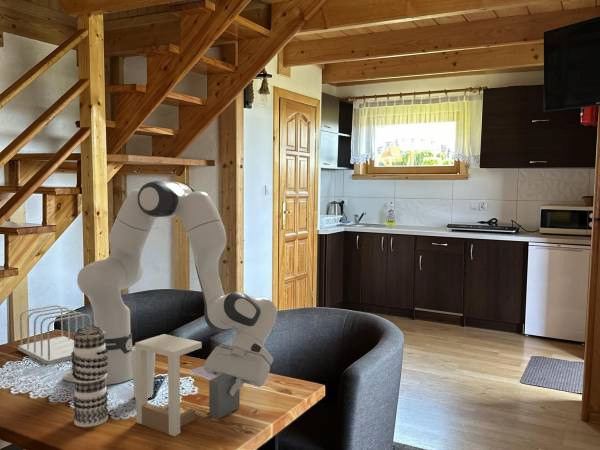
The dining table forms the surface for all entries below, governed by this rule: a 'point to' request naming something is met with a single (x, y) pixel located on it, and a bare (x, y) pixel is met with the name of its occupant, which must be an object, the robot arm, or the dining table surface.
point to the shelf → (170, 414)
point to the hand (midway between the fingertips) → (223, 392)
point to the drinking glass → (149, 371)
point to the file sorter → (53, 347)
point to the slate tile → (222, 396)
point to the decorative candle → (89, 376)
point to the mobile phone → (202, 373)
